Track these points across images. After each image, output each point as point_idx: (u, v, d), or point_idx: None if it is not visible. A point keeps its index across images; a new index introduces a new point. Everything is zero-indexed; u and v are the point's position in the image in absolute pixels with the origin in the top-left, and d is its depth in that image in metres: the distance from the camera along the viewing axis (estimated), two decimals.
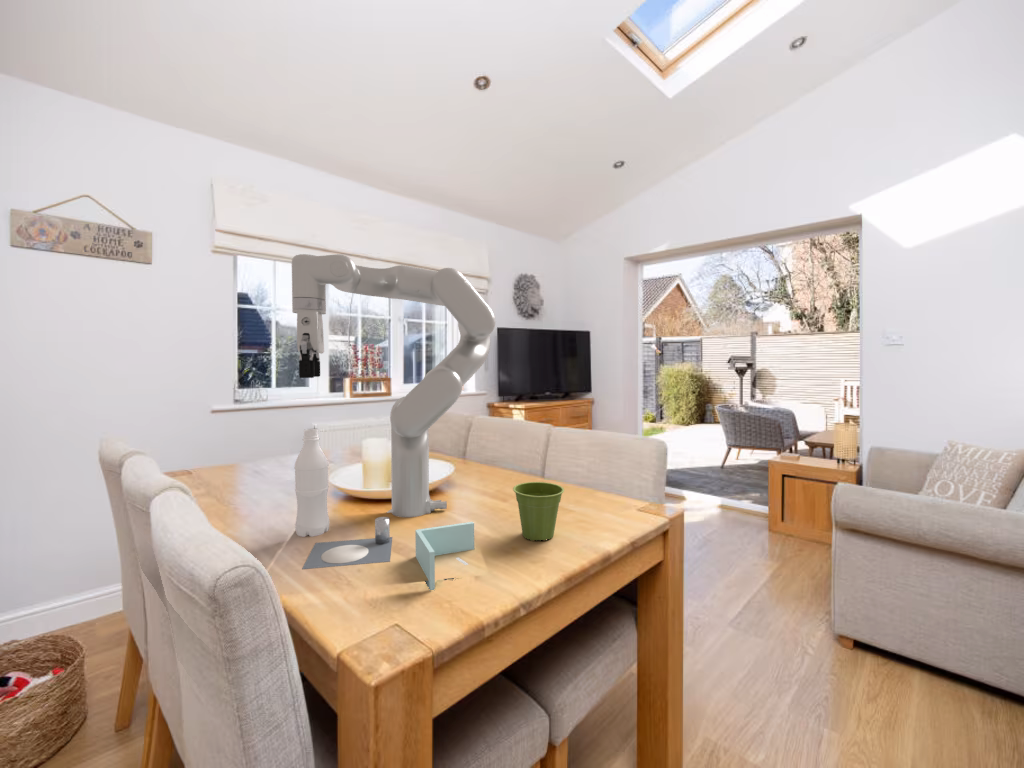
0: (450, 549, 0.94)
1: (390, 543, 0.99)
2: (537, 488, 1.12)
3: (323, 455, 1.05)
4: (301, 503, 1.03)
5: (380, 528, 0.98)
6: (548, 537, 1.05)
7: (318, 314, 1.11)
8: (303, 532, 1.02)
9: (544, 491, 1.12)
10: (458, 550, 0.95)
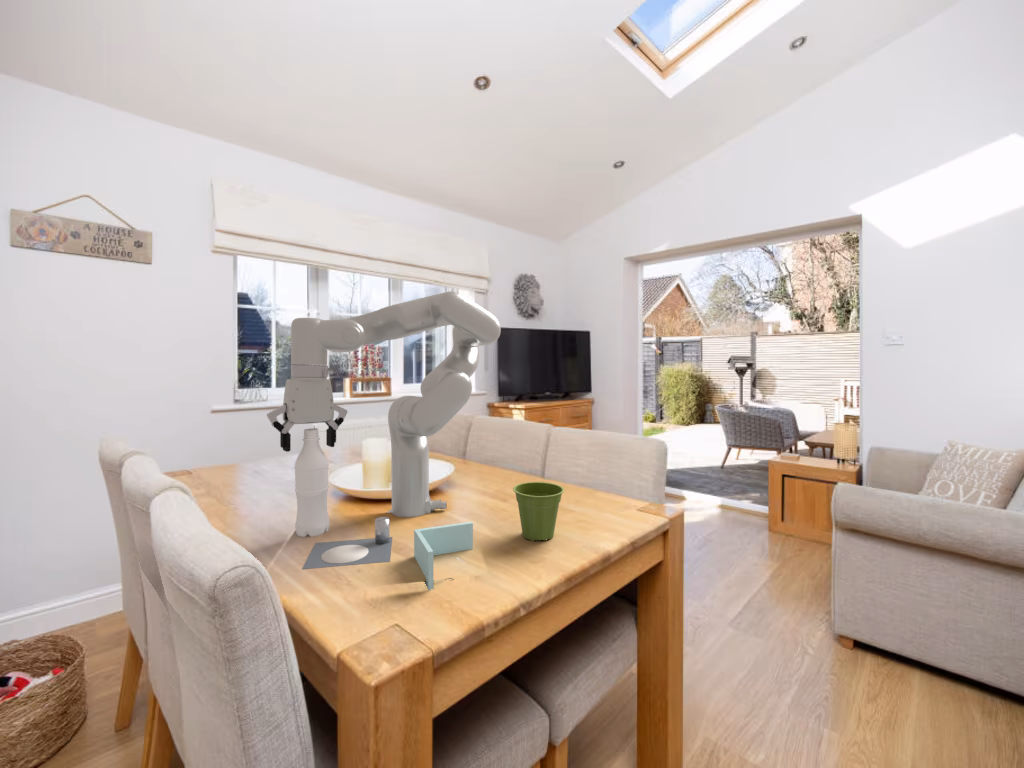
0: (449, 549, 0.94)
1: (390, 543, 0.99)
2: (537, 488, 1.12)
3: (323, 455, 1.05)
4: (301, 503, 1.03)
5: (380, 528, 0.98)
6: (548, 537, 1.05)
7: None
8: (303, 532, 1.02)
9: (544, 491, 1.12)
10: (457, 550, 0.95)
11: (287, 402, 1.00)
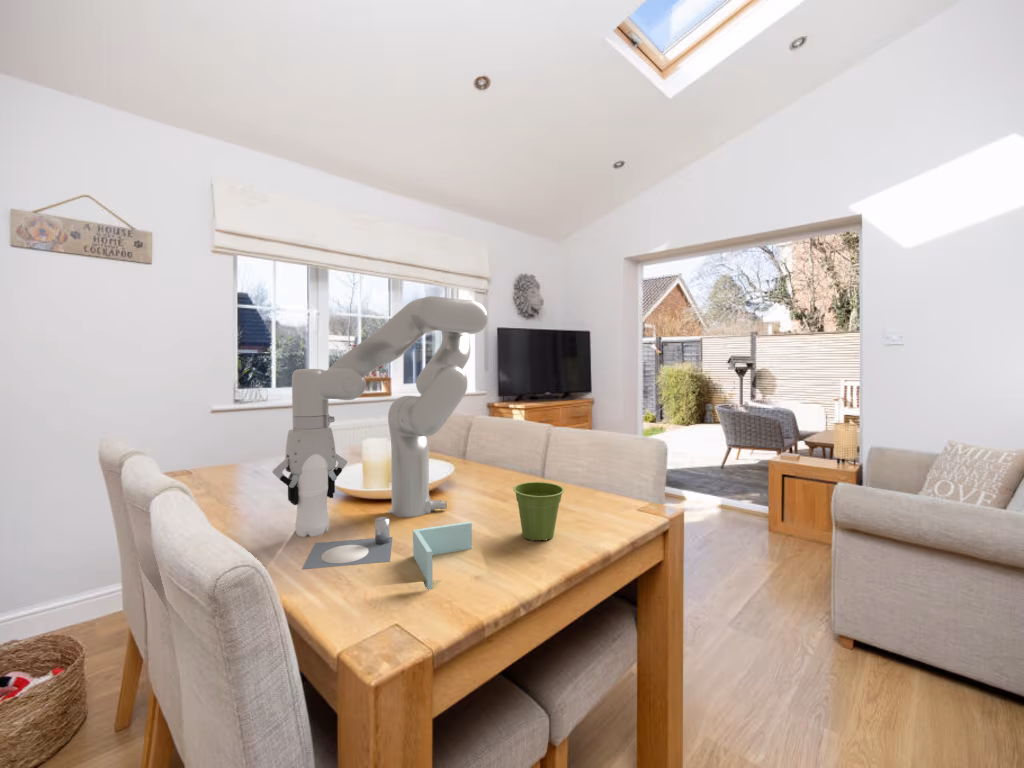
0: (448, 549, 0.94)
1: (390, 543, 0.99)
2: (537, 488, 1.12)
3: None
4: (301, 503, 1.03)
5: (380, 528, 0.98)
6: (548, 537, 1.05)
7: None
8: (303, 532, 1.02)
9: (544, 491, 1.12)
10: (456, 550, 0.95)
11: (289, 454, 1.01)
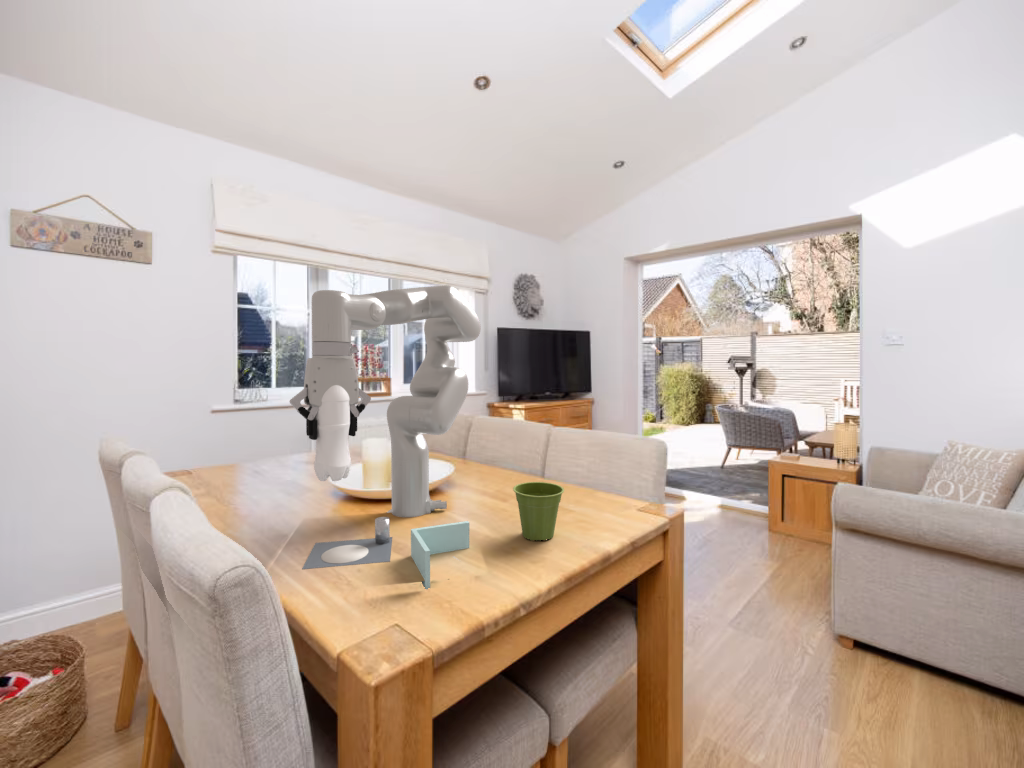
0: (445, 548, 0.95)
1: (390, 543, 0.99)
2: (537, 488, 1.12)
3: None
4: (320, 438, 0.93)
5: (380, 528, 0.98)
6: (548, 537, 1.05)
7: None
8: (323, 470, 0.93)
9: (544, 491, 1.12)
10: (453, 549, 0.95)
11: (308, 383, 0.91)
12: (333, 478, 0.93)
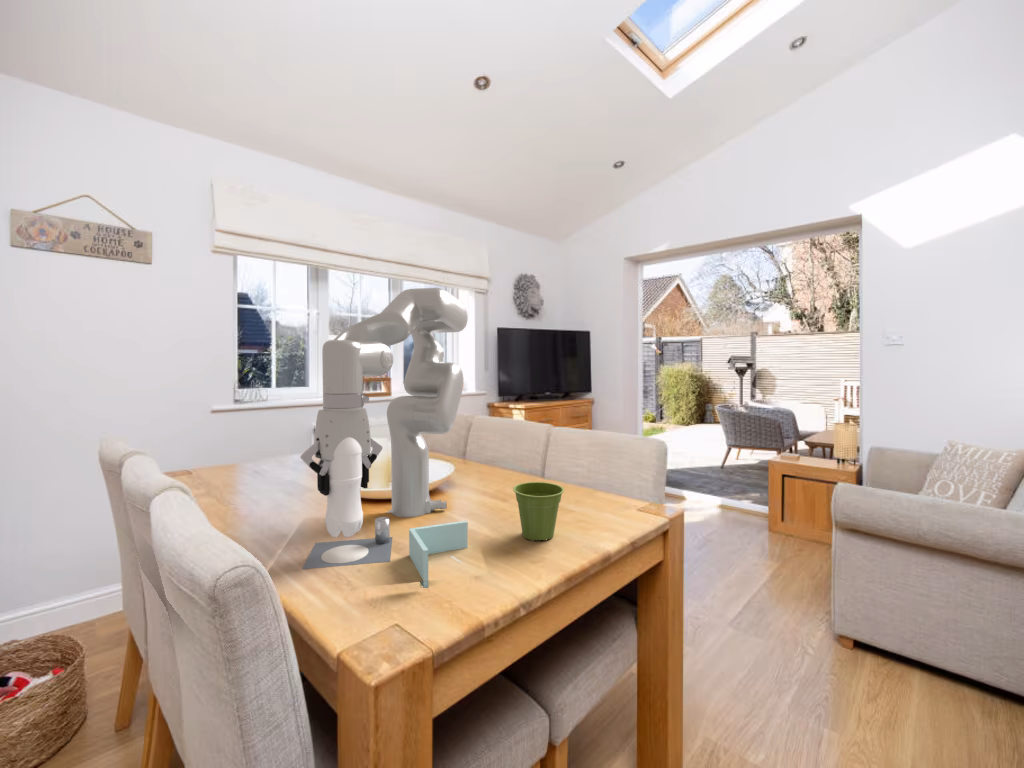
0: (443, 548, 0.95)
1: (390, 543, 0.99)
2: (537, 488, 1.12)
3: None
4: (332, 493, 0.90)
5: (380, 528, 0.98)
6: (548, 537, 1.05)
7: None
8: (335, 527, 0.89)
9: (544, 491, 1.12)
10: (451, 549, 0.95)
11: (320, 437, 0.88)
12: (346, 534, 0.90)
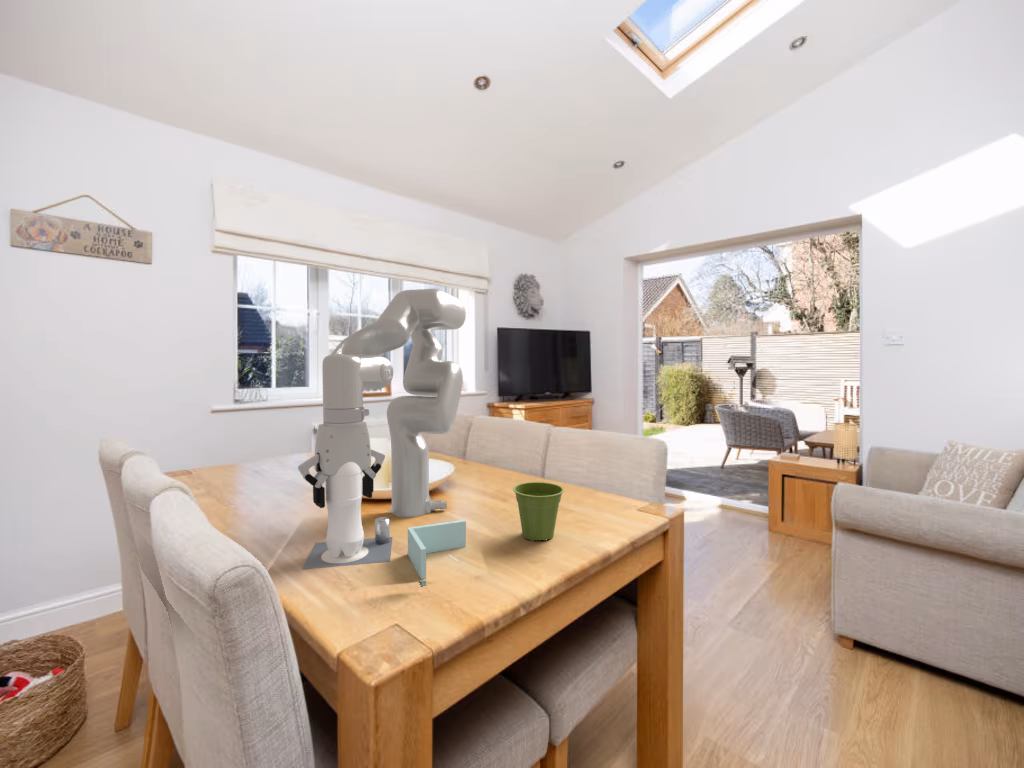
0: (442, 547, 0.95)
1: (390, 543, 0.99)
2: (536, 488, 1.12)
3: None
4: (333, 513, 0.90)
5: (380, 528, 0.98)
6: (548, 537, 1.05)
7: None
8: (336, 547, 0.90)
9: (544, 491, 1.12)
10: (450, 548, 0.96)
11: (320, 452, 0.88)
12: (347, 554, 0.91)
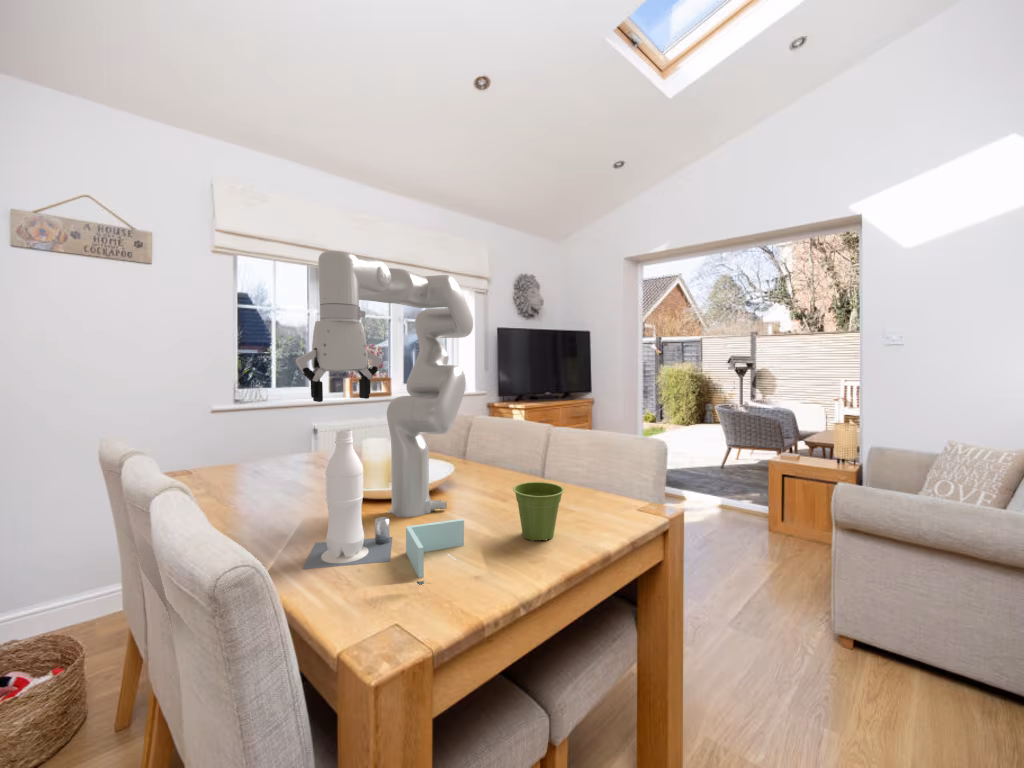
0: (440, 545, 0.96)
1: (390, 543, 0.99)
2: (537, 488, 1.12)
3: (358, 460, 0.93)
4: (334, 514, 0.90)
5: (380, 528, 0.98)
6: (548, 537, 1.05)
7: None
8: (336, 548, 0.90)
9: (544, 491, 1.12)
10: (448, 546, 0.97)
11: (317, 346, 0.89)
12: (347, 555, 0.91)
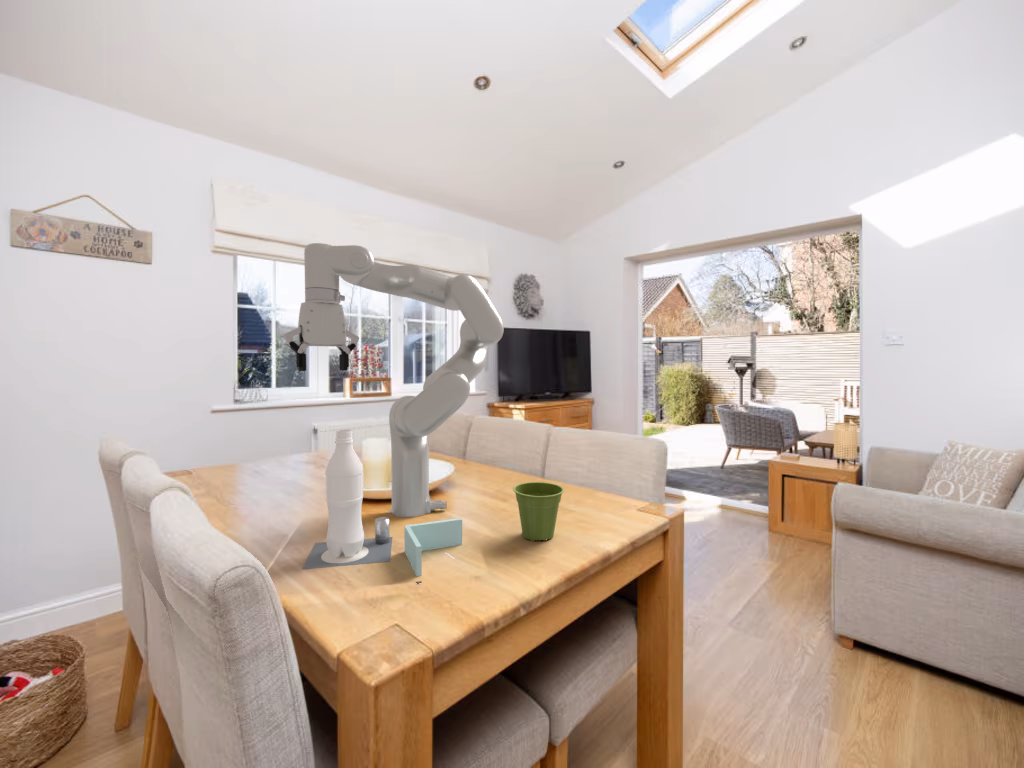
0: (438, 544, 0.96)
1: (390, 543, 0.99)
2: (537, 488, 1.12)
3: (358, 460, 0.93)
4: (334, 514, 0.90)
5: (380, 528, 0.98)
6: (548, 537, 1.05)
7: None
8: (336, 548, 0.90)
9: (544, 491, 1.12)
10: (446, 546, 0.97)
11: (302, 323, 1.05)
12: (347, 555, 0.91)
